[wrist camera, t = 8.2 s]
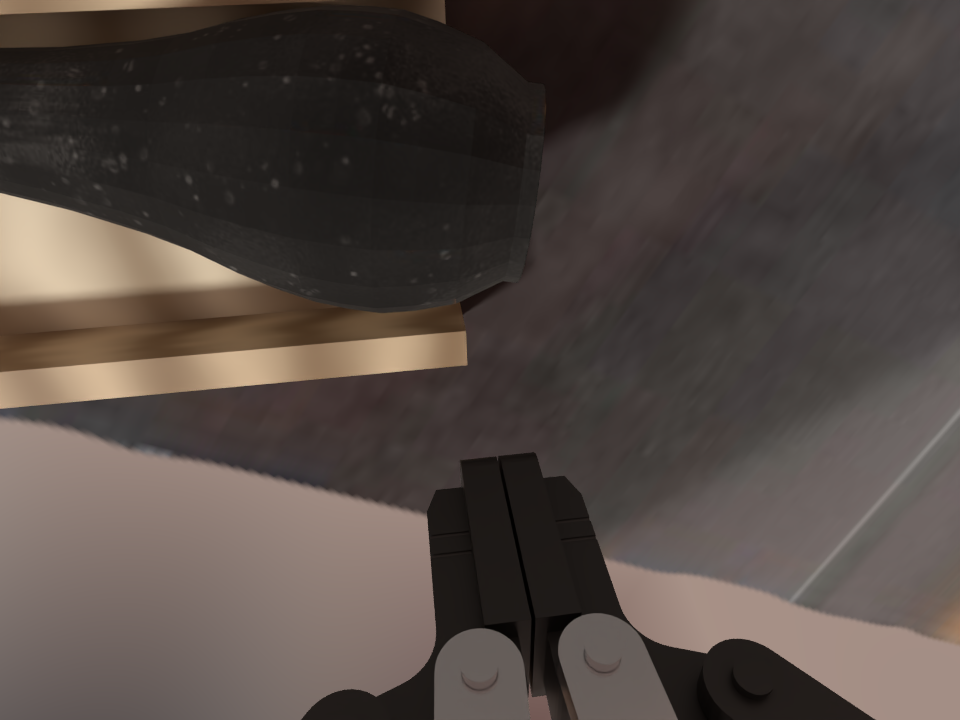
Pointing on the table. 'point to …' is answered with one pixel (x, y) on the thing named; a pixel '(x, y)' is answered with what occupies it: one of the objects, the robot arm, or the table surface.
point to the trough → (170, 268)
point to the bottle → (293, 150)
